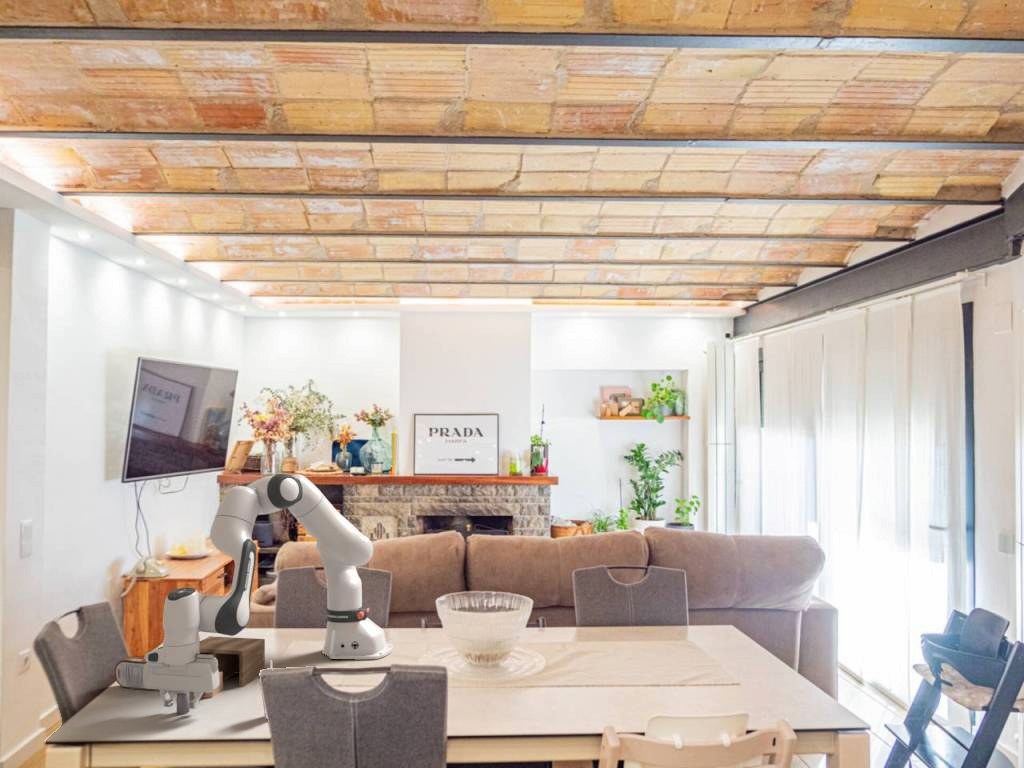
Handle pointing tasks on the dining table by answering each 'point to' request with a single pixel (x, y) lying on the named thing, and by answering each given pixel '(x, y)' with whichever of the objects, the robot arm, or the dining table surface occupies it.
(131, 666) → the tin
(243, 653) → the shelf unit
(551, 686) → the dining table surface
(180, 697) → the pull block
